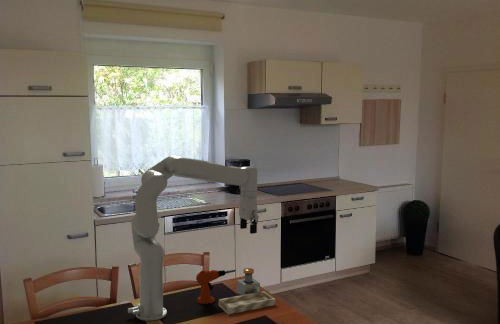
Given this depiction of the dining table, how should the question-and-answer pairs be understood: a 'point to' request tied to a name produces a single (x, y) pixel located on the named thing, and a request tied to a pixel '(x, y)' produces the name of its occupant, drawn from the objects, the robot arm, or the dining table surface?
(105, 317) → the dining table surface
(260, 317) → the dining table surface
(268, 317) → the dining table surface
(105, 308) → the dining table surface
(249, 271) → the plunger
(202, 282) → the toy drill
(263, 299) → the marbled rectangular tray
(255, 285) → the socket block
